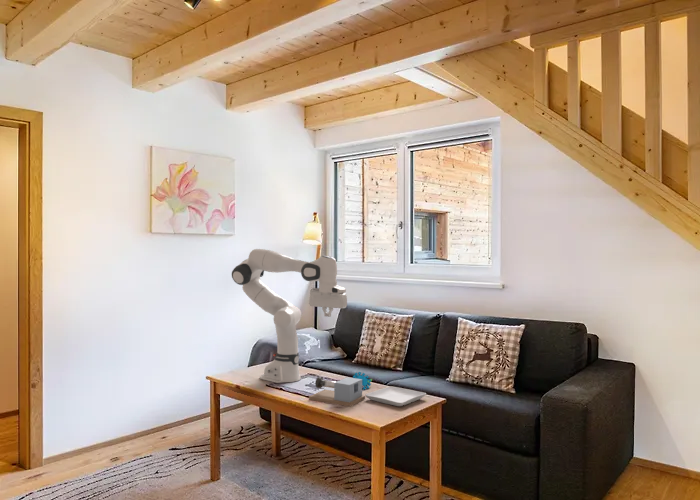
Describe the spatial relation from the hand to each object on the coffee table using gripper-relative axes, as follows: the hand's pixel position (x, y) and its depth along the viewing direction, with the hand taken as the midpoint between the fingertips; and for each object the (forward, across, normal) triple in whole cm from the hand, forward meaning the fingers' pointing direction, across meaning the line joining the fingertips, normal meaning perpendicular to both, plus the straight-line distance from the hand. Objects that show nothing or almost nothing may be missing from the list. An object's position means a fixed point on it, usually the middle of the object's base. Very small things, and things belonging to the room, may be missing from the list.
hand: (327, 316), depth 262 cm
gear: (+37, +13, +13) cm, 41 cm away
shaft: (+33, +8, -11) cm, 35 cm away
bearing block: (+37, +12, -11) cm, 40 cm away
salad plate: (+37, +36, +2) cm, 52 cm away
